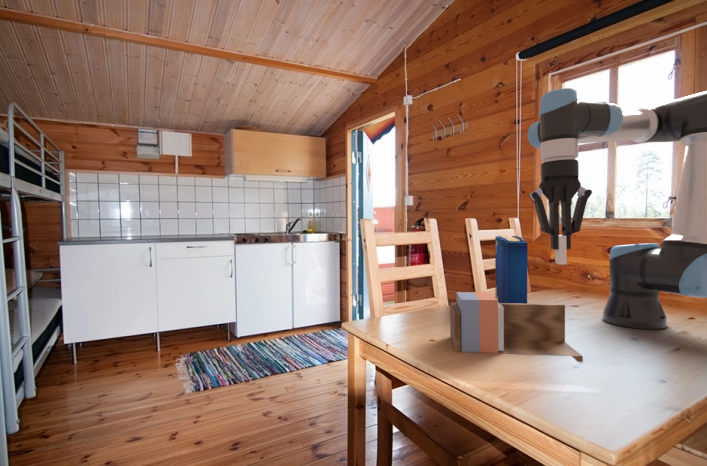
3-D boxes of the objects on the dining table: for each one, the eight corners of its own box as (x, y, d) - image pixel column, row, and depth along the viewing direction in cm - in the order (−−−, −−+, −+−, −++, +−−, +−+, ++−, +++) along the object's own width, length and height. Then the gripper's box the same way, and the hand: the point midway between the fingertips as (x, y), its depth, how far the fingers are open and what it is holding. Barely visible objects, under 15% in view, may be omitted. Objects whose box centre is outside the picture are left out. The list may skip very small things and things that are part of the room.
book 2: (530, 318, 118) (530, 238, 118) (506, 317, 120) (505, 238, 119) (515, 303, 140) (515, 235, 139) (495, 302, 141) (494, 235, 140)
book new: (490, 340, 95) (489, 292, 95) (498, 352, 86) (497, 300, 86) (473, 339, 96) (473, 292, 95) (479, 352, 87) (479, 299, 86)
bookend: (495, 339, 95) (495, 299, 94) (503, 351, 86) (503, 307, 86) (490, 339, 95) (490, 299, 95) (498, 350, 87) (498, 307, 86)
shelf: (563, 344, 94) (563, 304, 94) (582, 360, 83) (582, 315, 83) (450, 341, 98) (450, 302, 98) (455, 356, 87) (454, 312, 87)
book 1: (473, 339, 96) (473, 292, 95) (479, 352, 87) (479, 299, 86) (456, 339, 96) (456, 292, 96) (461, 351, 87) (461, 299, 87)
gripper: (582, 161, 90) (584, 261, 91) (524, 164, 92) (526, 262, 93) (598, 156, 82) (599, 265, 83) (534, 160, 84) (536, 266, 85)
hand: (560, 263), depth 88 cm, fingers closed
